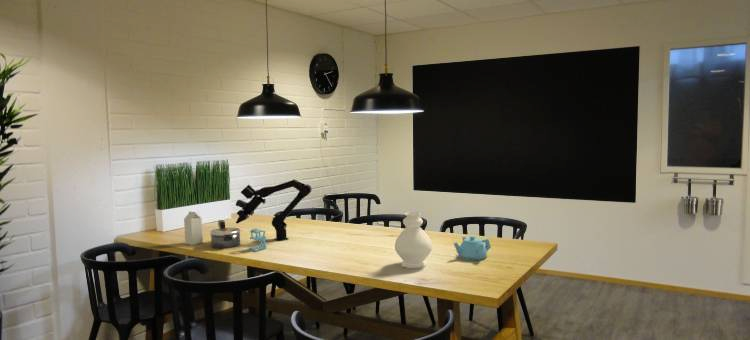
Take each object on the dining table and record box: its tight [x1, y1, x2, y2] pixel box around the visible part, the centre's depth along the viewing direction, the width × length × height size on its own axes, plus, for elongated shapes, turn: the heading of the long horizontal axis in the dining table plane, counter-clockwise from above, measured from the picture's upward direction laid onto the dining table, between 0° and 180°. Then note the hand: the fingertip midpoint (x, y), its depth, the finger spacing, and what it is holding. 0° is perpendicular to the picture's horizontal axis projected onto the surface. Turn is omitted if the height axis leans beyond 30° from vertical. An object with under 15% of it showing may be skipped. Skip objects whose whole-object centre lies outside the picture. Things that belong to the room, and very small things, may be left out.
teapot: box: [453, 235, 491, 261], centre depth 264 cm, size 15×15×11 cm
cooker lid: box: [209, 219, 241, 236], centre depth 308 cm, size 23×17×5 cm
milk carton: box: [183, 211, 204, 246], centre depth 313 cm, size 7×7×19 cm
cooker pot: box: [210, 232, 241, 250], centre depth 308 cm, size 26×16×7 cm, turn 24°
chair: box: [248, 228, 267, 253], centre depth 293 cm, size 8×8×12 cm
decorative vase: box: [394, 211, 433, 269], centre depth 253 cm, size 18×18×25 cm
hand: (236, 223), depth 318 cm, fingers closed
